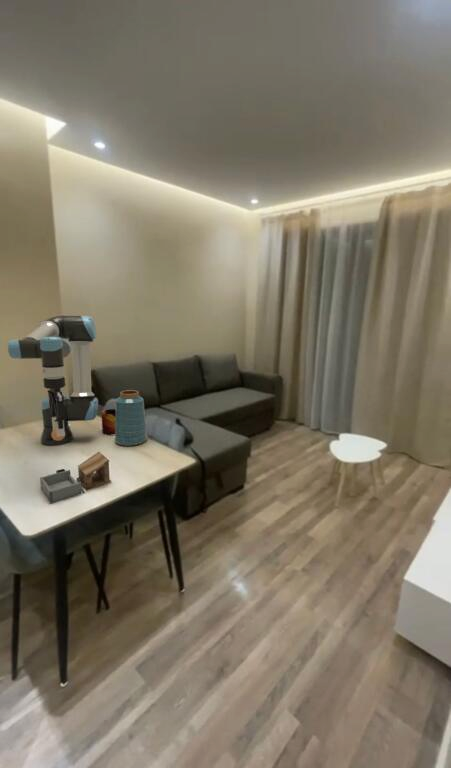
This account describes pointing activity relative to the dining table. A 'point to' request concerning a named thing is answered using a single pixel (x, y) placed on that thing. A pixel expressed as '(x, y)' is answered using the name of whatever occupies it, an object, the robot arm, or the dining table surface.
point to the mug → (108, 421)
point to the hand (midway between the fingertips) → (58, 433)
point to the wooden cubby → (90, 466)
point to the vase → (130, 419)
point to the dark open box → (60, 470)
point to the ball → (54, 435)
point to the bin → (60, 486)
